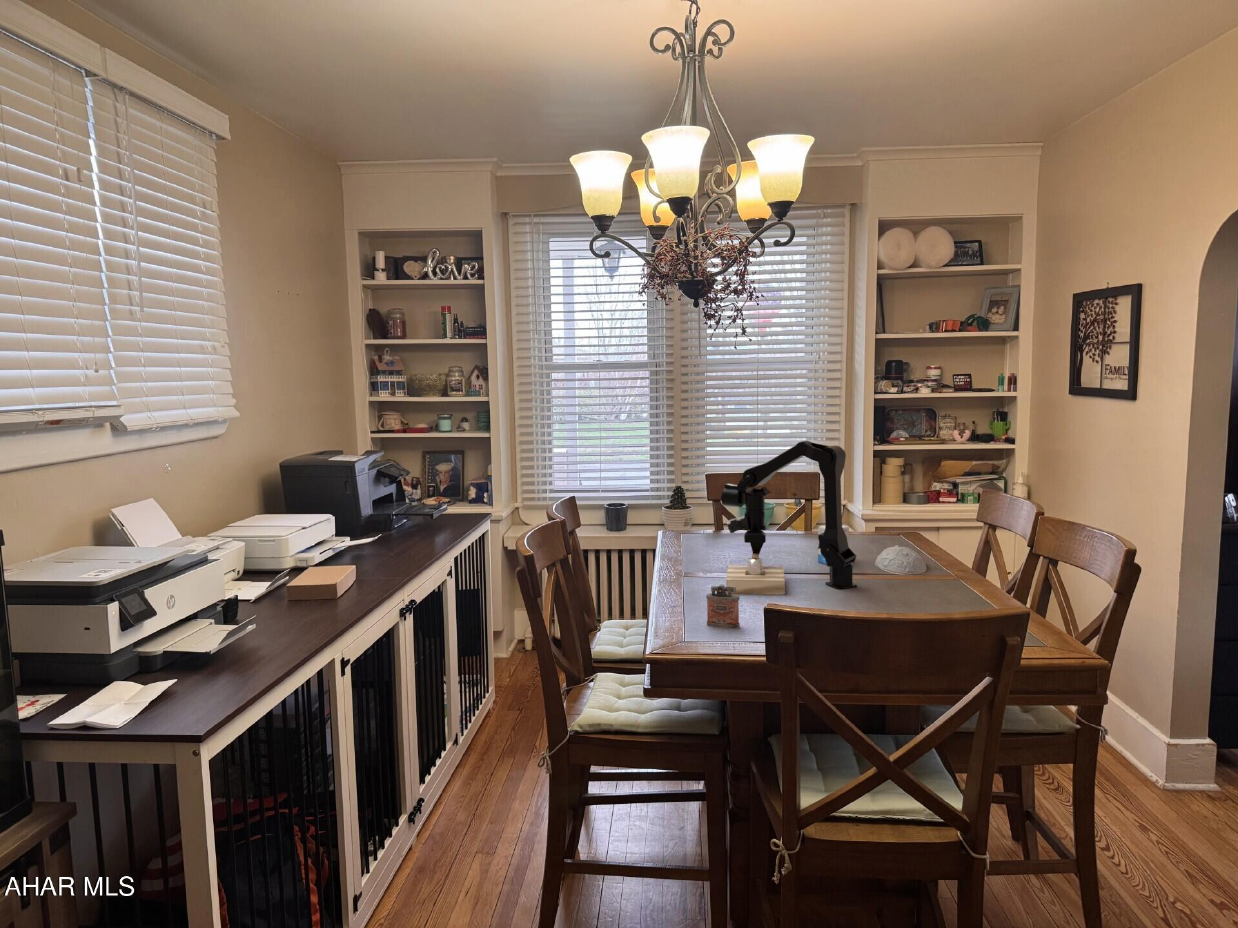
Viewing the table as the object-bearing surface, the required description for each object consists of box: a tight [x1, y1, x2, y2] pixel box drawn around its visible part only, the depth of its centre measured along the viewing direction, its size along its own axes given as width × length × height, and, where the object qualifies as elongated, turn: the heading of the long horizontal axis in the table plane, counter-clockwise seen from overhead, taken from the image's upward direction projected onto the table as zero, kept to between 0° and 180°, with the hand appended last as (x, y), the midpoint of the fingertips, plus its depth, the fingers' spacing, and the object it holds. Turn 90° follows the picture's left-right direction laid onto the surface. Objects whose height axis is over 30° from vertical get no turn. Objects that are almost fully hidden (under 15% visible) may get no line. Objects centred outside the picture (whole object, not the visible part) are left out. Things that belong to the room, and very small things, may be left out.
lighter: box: [705, 584, 741, 629], centre depth 191 cm, size 8×3×10 cm, turn 69°
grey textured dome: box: [874, 544, 927, 576], centre depth 246 cm, size 16×25×7 cm, turn 171°
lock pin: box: [751, 553, 760, 558], centre depth 235 cm, size 12×2×2 cm, turn 170°
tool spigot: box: [747, 557, 764, 575], centre depth 226 cm, size 4×4×8 cm
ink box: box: [817, 524, 850, 565], centre depth 252 cm, size 9×5×12 cm, turn 113°
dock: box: [725, 565, 786, 595], centre depth 226 cm, size 16×16×4 cm
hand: (755, 558), depth 242 cm, fingers closed
